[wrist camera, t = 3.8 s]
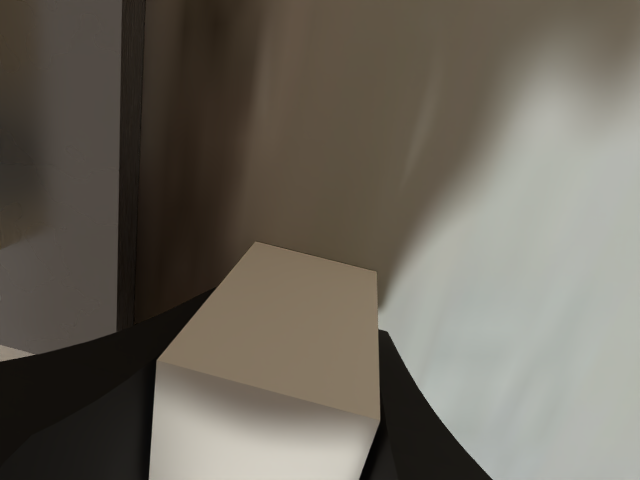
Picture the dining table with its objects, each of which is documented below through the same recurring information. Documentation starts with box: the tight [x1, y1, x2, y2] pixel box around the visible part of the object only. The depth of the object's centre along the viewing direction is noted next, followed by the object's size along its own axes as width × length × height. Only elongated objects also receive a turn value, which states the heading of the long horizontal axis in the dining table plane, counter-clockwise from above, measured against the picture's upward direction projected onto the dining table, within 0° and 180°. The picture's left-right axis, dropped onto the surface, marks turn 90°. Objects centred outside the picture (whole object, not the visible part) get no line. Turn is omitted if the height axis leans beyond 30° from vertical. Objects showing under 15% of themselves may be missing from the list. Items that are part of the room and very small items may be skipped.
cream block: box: [149, 241, 380, 480], centre depth 10 cm, size 4×4×6 cm
